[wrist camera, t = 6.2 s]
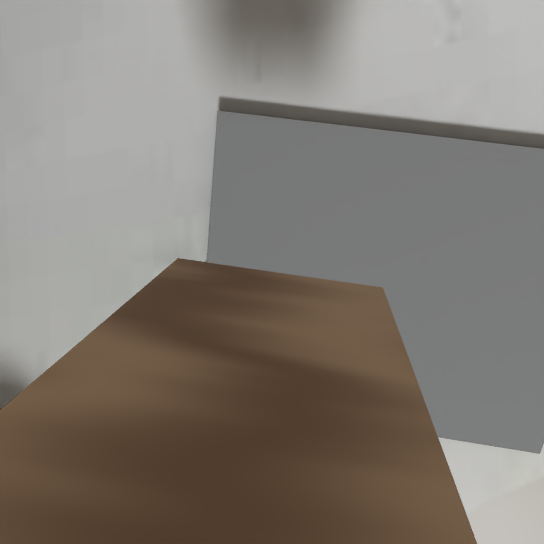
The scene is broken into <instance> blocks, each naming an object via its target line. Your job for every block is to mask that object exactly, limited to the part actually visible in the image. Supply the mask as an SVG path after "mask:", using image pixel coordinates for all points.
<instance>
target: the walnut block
mask: <svg viewBox="0 0 544 544" xmlns="http://www.w3.org/2000/svg"><path fill="white" fill-rule="evenodd" d="M0 544H477V542H476V540H475V537H474V534H473V531H472V529H471V526H470V523H469V521H468V518H467V515H466V512H465V510H464V507H463V504H462V501H461V499H460V496H459V493H458V491H457V488H456V485H455V482H454V480H453V477H452V474H451V472H450V469H449V466H448V463H447V461H446V458H445V455H444V452H443V450H442V447H441V444H440V442H439V439H438V436H437V433H436V431H435V428H434V425H433V423H432V420H431V417H430V414H429V412H428V409H427V406H426V404H425V401H424V398H423V395H422V393H421V390H420V387H419V384H418V382H417V379H416V376H415V374H414V371H413V368H412V365H411V363H410V360H409V357H408V355H407V352H406V349H405V346H404V344H403V341H402V338H401V335H400V333H399V330H398V327H397V325H396V322H395V319H394V316H393V314H392V311H391V308H390V306H389V303H388V300H387V297H386V295H385V292H384V289H383V287H376V286H369V285H362V284H355V283H348V282H341V281H334V280H327V279H319V278H312V277H305V276H298V275H291V274H284V273H277V272H270V271H263V270H256V269H249V268H242V267H235V266H228V265H221V264H214V263H207V262H200V261H193V260H186V259H179V258H178V259H177V260H175V261H174V262H173V263H172V264H171V265H170V266H168V267H167V268H166V269H165V270H164V271H163V272H161V273H160V274H159V275H158V276H157V277H156V278H154V279H153V280H152V281H151V282H150V283H149V284H147V285H146V286H145V287H144V288H143V289H141V290H140V291H139V292H138V293H137V294H136V295H134V296H133V297H132V298H131V299H130V300H129V301H127V302H126V303H125V304H124V305H123V306H122V307H120V308H119V309H118V310H117V311H116V312H115V313H113V314H112V315H111V316H110V317H109V318H107V319H106V320H105V321H104V322H103V323H102V324H100V325H99V326H98V327H97V328H96V329H95V330H93V331H92V332H91V333H90V334H89V335H88V336H86V337H85V338H84V339H83V340H82V341H81V342H79V343H78V344H77V345H76V346H75V347H73V348H72V349H71V350H70V351H69V352H68V353H66V354H65V355H64V356H63V357H62V358H61V359H59V360H58V361H57V362H56V363H55V364H54V365H52V366H51V367H50V368H49V369H48V370H47V371H45V372H44V373H43V374H42V375H41V376H39V377H38V378H37V379H36V380H35V381H34V382H32V383H31V384H30V385H29V386H28V387H27V388H25V389H24V390H23V391H22V392H21V393H20V394H18V395H17V396H16V397H15V398H14V399H13V400H11V401H10V402H9V403H8V404H7V405H5V406H4V407H3V408H2V409H1V410H0Z"/></svg>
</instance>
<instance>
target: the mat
mask: <svg viewBox="0 0 544 544" xmlns="http://www.w3.org/2000/svg"><path fill="white" fill-rule="evenodd" d="M207 263H214V264H221V265H228V266H235V267H242V268H249V269H256V270H263V271H270V272H277V273H284V274H291V275H298V276H305V277H312V278H319V279H327V280H334V281H341V282H348V283H355V284H362V285H369V286H376V287H383V289H384V292H385V295H386V297H387V300H388V303H389V306H390V308H391V311H392V314H393V316H394V319H395V322H396V325H397V327H398V330H399V333H400V335H401V338H402V341H403V344H404V346H405V349H406V352H407V355H408V357H409V360H410V363H411V365H412V368H413V371H414V374H415V376H416V379H417V382H418V384H419V387H420V390H421V393H422V395H423V398H424V401H425V404H426V406H427V409H428V412H429V414H430V417H431V420H432V423H433V425H434V428H435V431H436V433H437V436H438V437H440V438H446V439H452V440H459V441H465V442H471V443H477V444H483V445H489V446H495V447H502V448H508V449H514V450H520V451H526V452H532V453H538V454H540V452H541V449H542V446H543V443H544V149H541V148H533V147H524V146H515V145H507V144H498V143H490V142H481V141H473V140H464V139H456V138H447V137H439V136H430V135H422V134H413V133H405V132H396V131H388V130H379V129H371V128H362V127H354V126H345V125H337V124H328V123H320V122H311V121H302V120H294V119H285V118H277V117H268V116H260V115H251V114H243V113H234V112H226V111H218V115H217V129H216V142H215V156H214V170H213V184H212V197H211V211H210V225H209V239H208V253H207Z"/></svg>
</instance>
